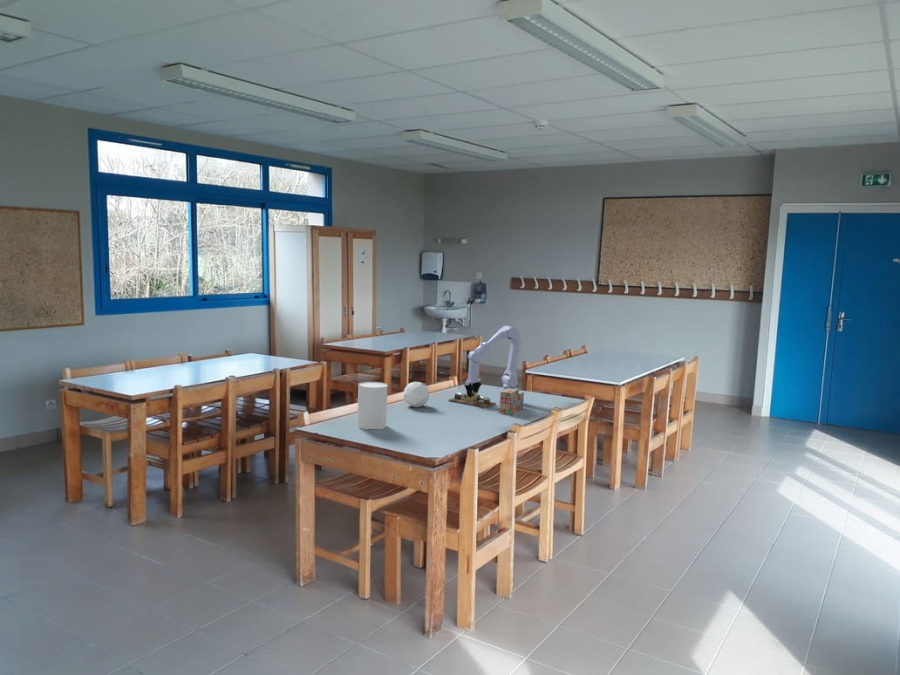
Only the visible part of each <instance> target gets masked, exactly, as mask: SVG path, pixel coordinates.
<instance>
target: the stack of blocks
mask: <svg viewBox="0 0 900 675" xmlns="http://www.w3.org/2000/svg"><path fill="white" fill-rule="evenodd" d="M519 390H520V388H519V389H514V388H507V389H505V390H503V389H502V390H501V391H500V395H499V396H500V399H499V413H503V414H502V415H506V414H511V415H513V414H515V413H516V412H518V411H520V410H522V409H523V408H524V394H525V392H524V391H519ZM521 408H522V409H521ZM519 409H520V410H519ZM517 410H518V411H517ZM514 412H515V413H514ZM499 413H498V414H499ZM512 413H513V414H512Z"/></svg>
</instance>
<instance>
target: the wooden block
mask: <svg viewBox="0 0 900 675" xmlns="http://www.w3.org/2000/svg"><path fill="white" fill-rule="evenodd" d="M478 393H479V392H478ZM478 393H477V392H472V397H468V396H467V394H466V401H469V402H476V401H477V400H476V397H477V395H479V394H478Z"/></svg>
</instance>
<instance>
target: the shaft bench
mask: <svg viewBox="0 0 900 675" xmlns="http://www.w3.org/2000/svg"><path fill="white" fill-rule="evenodd" d="M448 402H450V403H456V404H462V405H466V406H467V405H468V406H473V407H479V408H485V409H487V408H490V407H492V406H496V402H494V401H490V402H489V401H486V400H484V401H483V400H479V401H476V402H469V401H466V399H465V397H460V396H458V395H455V394H454V397H453V398H450V399H448Z"/></svg>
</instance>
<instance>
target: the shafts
mask: <svg viewBox="0 0 900 675" xmlns="http://www.w3.org/2000/svg"><path fill="white" fill-rule="evenodd" d="M466 394H467V392H465V393H463V392H457V391H456V392H454V396H455V395H458V396H460V397H465V399H466ZM476 400H477V401H479V400H483V401H484V400H486V401H489V402H491V398H490V397H485V396H481V395H480V394H478V395H477V397H476Z"/></svg>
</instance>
